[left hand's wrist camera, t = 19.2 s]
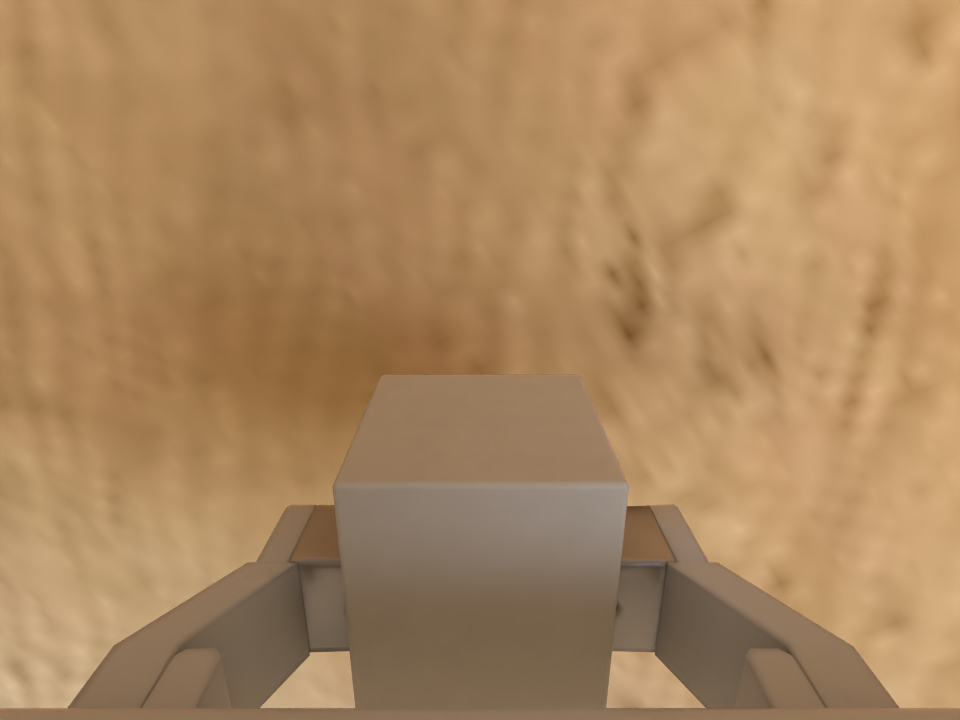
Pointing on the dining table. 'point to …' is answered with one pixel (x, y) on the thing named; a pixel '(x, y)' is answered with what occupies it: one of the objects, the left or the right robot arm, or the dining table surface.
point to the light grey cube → (480, 544)
